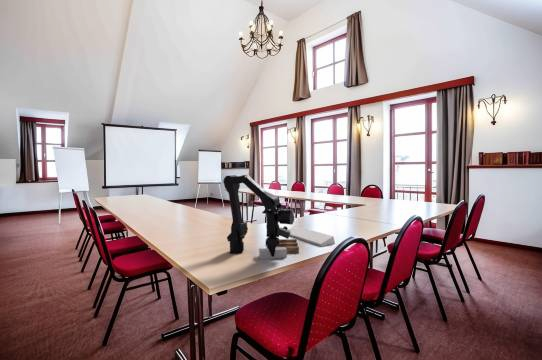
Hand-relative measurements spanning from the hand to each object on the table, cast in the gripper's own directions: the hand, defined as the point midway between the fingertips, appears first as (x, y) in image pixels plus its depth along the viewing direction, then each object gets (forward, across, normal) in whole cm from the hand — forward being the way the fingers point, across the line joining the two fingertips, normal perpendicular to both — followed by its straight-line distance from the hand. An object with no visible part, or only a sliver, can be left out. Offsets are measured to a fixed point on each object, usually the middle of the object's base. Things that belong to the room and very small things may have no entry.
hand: (273, 255), depth 131 cm
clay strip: (+1, 0, 0) cm, 1 cm away
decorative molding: (+2, +33, -20) cm, 39 cm away
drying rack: (+1, +14, -5) cm, 15 cm away
